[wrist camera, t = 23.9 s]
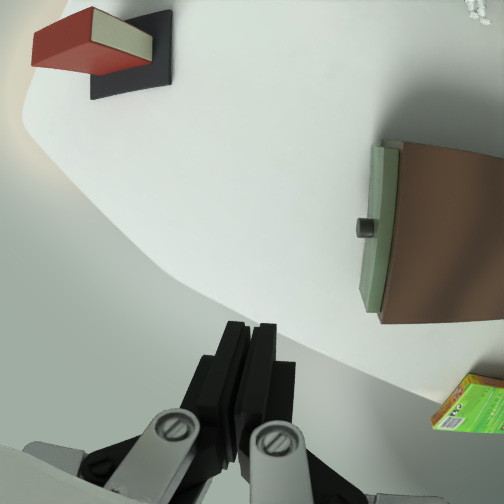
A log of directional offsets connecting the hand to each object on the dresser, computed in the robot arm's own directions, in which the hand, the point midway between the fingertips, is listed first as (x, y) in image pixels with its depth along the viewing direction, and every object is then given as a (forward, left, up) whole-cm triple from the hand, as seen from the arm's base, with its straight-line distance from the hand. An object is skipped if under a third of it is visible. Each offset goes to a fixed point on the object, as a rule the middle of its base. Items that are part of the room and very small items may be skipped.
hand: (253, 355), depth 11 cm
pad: (-14, +16, -19) cm, 29 cm away
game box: (+24, -24, -18) cm, 39 cm away
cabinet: (+16, 0, -19) cm, 25 cm away
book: (-15, +16, -18) cm, 29 cm away
